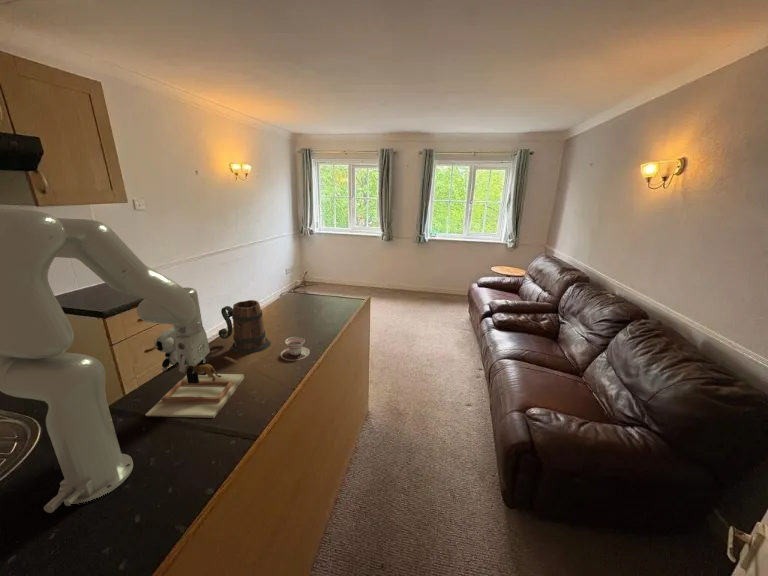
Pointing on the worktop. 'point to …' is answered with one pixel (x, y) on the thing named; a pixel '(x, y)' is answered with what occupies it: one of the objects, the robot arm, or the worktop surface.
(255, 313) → the tankard
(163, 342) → the robot toy
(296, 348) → the teacup
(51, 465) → the worktop surface
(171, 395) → the base plate
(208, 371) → the lion figurine
